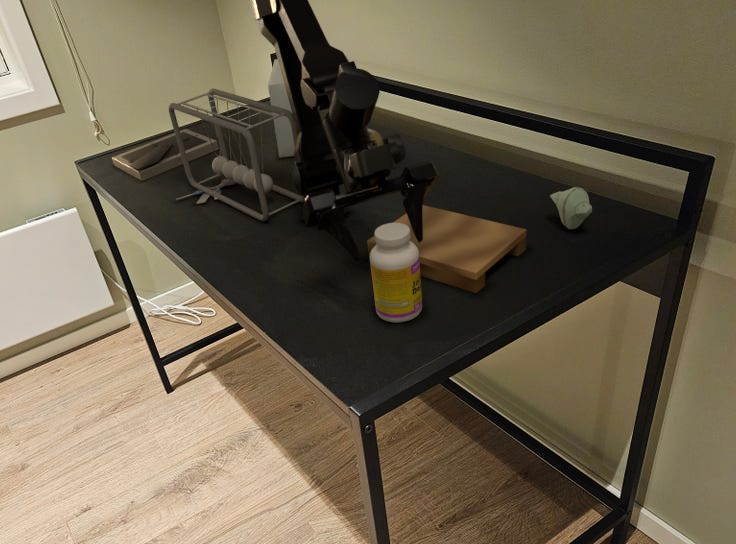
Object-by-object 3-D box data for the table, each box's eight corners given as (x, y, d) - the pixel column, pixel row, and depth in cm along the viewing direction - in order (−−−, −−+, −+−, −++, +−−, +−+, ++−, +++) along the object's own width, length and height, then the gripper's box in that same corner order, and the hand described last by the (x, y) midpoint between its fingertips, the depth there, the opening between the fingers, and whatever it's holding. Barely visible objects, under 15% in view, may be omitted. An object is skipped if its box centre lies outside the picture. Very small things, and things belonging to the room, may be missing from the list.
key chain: (232, 177, 142) (231, 174, 142) (252, 187, 137) (251, 183, 136) (175, 201, 137) (174, 198, 137) (193, 212, 131) (192, 209, 131)
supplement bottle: (420, 324, 91) (414, 242, 83) (373, 324, 93) (363, 244, 85) (424, 297, 96) (419, 217, 88) (379, 298, 98) (370, 220, 90)
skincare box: (303, 155, 146) (290, 81, 136) (279, 159, 147) (264, 86, 137) (306, 123, 163) (294, 55, 153) (284, 126, 163) (271, 58, 153)
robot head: (544, 223, 107) (546, 184, 103) (564, 215, 108) (567, 176, 104) (579, 241, 101) (583, 201, 97) (600, 233, 102) (605, 192, 98)
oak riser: (369, 259, 107) (366, 240, 105) (420, 222, 114) (419, 203, 112) (476, 293, 95) (476, 272, 93) (525, 249, 102) (526, 229, 100)
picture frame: (142, 181, 149) (219, 149, 158) (138, 169, 148) (216, 137, 156) (114, 165, 160) (188, 136, 168) (110, 154, 158) (184, 125, 167)
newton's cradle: (188, 185, 142) (165, 102, 131) (228, 168, 146) (209, 86, 135) (267, 225, 122) (247, 130, 111) (311, 204, 126) (296, 111, 115)
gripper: (292, 136, 82) (333, 251, 81) (429, 99, 85) (471, 209, 83) (287, 174, 93) (323, 276, 92) (408, 141, 96) (445, 239, 94)
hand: (390, 250), depth 90 cm, fingers open, 9 cm apart
